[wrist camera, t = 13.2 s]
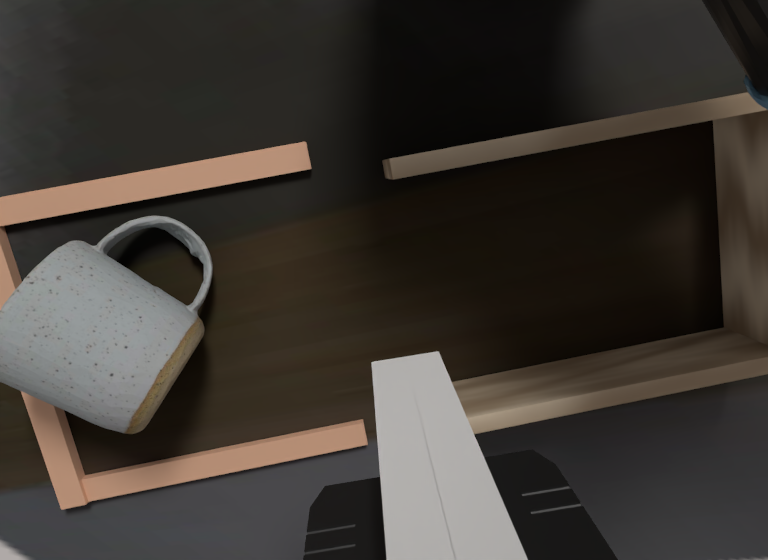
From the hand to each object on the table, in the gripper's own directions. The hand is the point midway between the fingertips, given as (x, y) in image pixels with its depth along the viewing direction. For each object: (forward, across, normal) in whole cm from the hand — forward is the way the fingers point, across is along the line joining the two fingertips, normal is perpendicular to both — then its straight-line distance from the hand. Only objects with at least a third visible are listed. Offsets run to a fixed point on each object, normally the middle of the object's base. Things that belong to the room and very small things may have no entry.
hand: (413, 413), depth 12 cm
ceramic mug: (+20, -14, 0) cm, 25 cm away
